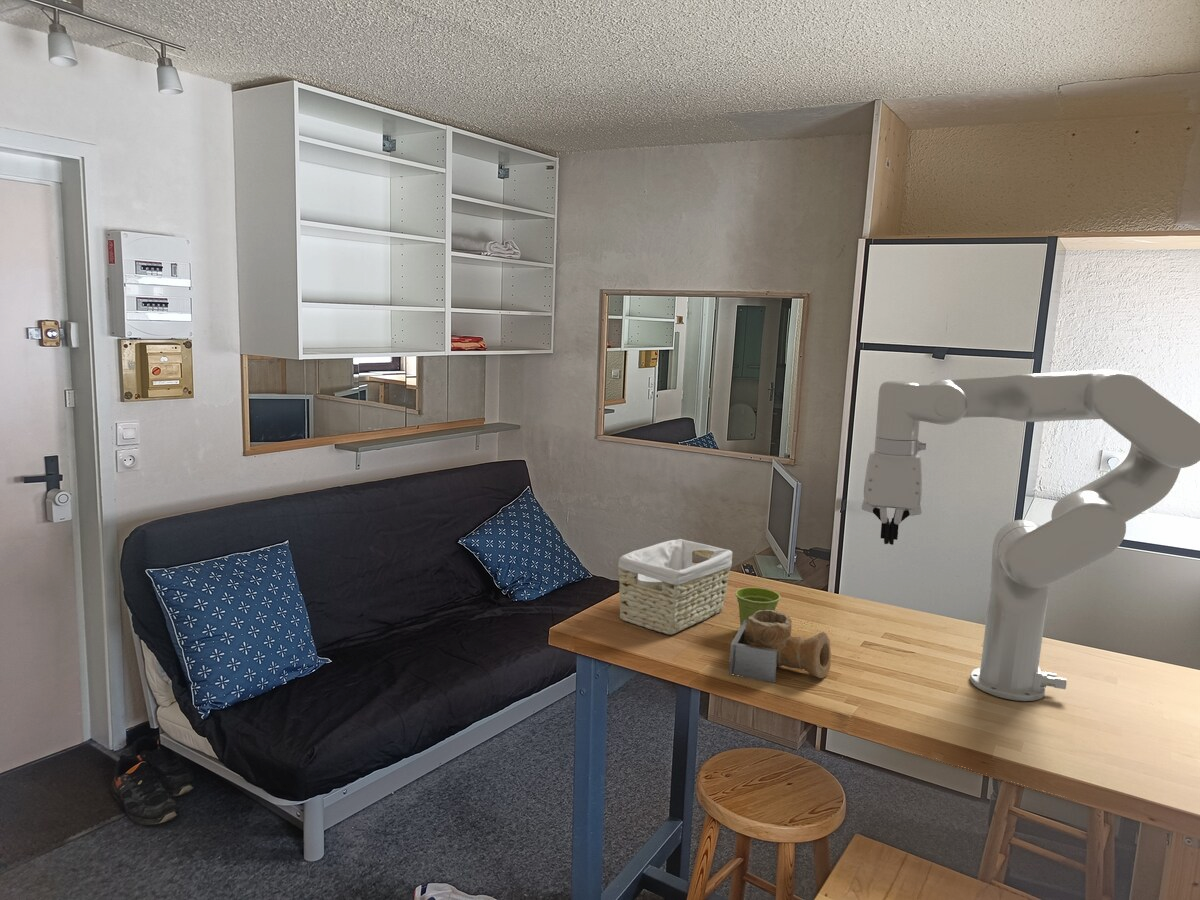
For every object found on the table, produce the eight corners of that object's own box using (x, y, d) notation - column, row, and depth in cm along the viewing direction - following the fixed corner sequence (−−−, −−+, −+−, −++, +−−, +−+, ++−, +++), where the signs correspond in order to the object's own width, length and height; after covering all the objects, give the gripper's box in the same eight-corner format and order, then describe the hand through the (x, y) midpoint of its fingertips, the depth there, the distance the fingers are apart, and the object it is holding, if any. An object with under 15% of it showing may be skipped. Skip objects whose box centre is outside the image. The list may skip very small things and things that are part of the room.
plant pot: (754, 645, 170) (757, 604, 169) (723, 629, 178) (726, 591, 176) (786, 636, 175) (790, 597, 174) (755, 622, 183) (758, 584, 182)
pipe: (821, 688, 151) (826, 636, 150) (736, 668, 159) (739, 618, 157) (831, 670, 159) (836, 620, 158) (749, 652, 167) (753, 604, 165)
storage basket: (673, 595, 199) (676, 535, 197) (732, 612, 189) (736, 549, 187) (611, 621, 181) (614, 555, 178) (673, 641, 171) (677, 572, 168)
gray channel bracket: (784, 654, 166) (787, 626, 165) (774, 682, 153) (776, 652, 152) (742, 647, 169) (744, 619, 168) (728, 674, 156) (730, 644, 155)
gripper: (936, 447, 157) (928, 541, 159) (854, 442, 161) (847, 534, 164) (940, 453, 150) (932, 551, 152) (854, 447, 154) (847, 544, 156)
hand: (888, 542), depth 158 cm, fingers closed
